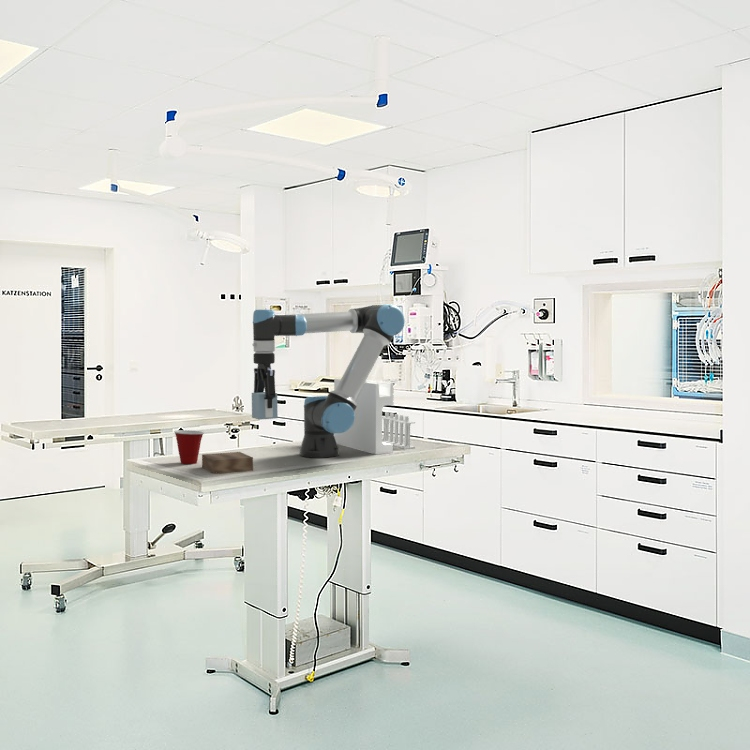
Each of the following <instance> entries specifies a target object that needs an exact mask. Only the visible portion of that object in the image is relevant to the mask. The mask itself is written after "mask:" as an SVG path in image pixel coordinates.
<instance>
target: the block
mask: <svg viewBox="0 0 750 750" xmlns="http://www.w3.org/2000/svg"><path fill="white" fill-rule="evenodd" d="M333 380H334V382H333V383H334V384H333V386H334V388H333V389H334V390H335V389H336V388H337V386H338V384H339V382H340V380H341V378H337V377H336V378H334V379H333ZM394 385H395V384H394V382H389V381H388V382H386V381H381V380H369V379H366V381H365V383H364V385H363V387H362V389H361V391H360V392H359V394H358V396H357V398H356V401H355V402H356V405H357V407H356V409H355V411H354V415H355V420H354V423H353V425H352V426H351V428H350V429H349V430H347V431H346V432H343V433H334V437H335V440H336V443H337V445H338V446H343V447H346V448H351V449H354V450H359V451H362V452H365V453H367V454H368V453H369V454H372V455H377V456H378V455H386V454H393V453H394V446H393V444H390V443H386V442H382V439H383V418H382V416H383V409H384V407H386V406H394V390H395V389H394ZM334 390H333V391H334Z"/></svg>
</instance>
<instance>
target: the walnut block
mask: <svg viewBox="0 0 750 750" xmlns="http://www.w3.org/2000/svg"><path fill="white" fill-rule="evenodd" d="M201 468H202V469H205V470H206V471H208V472H209V473H212V474H213V475H215V474H216V475H218V474H226V473H240V472H251V471H252V472H253V471H254V458H253V456H250V455H248V454H245V453H243V452H241V451H233V452H232V451H231V452H220V453H219V452H218V453H205V454H201Z"/></svg>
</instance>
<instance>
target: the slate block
mask: <svg viewBox="0 0 750 750" xmlns="http://www.w3.org/2000/svg"><path fill="white" fill-rule="evenodd" d="M275 395H276V397H275V398H273V417H268V418H265V399H264V398H265V397H266V395H265V391H264V392H259V393H254V392H251V418H252V419H256V420H272V419H273V420H275V419H279V418H278V393H277V392H275Z"/></svg>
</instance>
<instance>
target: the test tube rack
mask: <svg viewBox="0 0 750 750" xmlns="http://www.w3.org/2000/svg"><path fill="white" fill-rule="evenodd" d="M382 421H383V436H382V442H386V443H390V444H393V447H396V448H401V449H404V450H413V449H416V446H413V445H411V424H416V422H415V421H414V422H413V421H411V420H410V417H409V416H407V415H405V416H404V414H400V415H399V414H398V413H393V412H389V411H385V412H384V416H383V415H382Z"/></svg>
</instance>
